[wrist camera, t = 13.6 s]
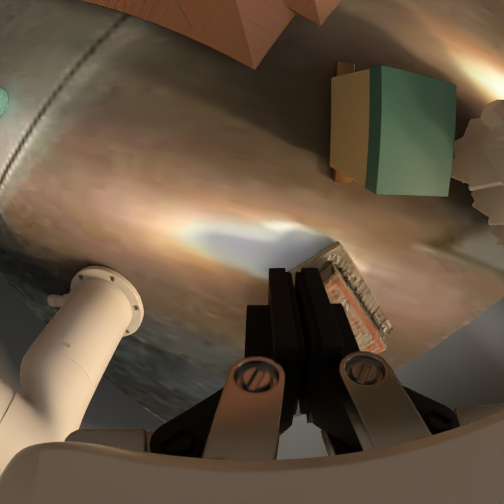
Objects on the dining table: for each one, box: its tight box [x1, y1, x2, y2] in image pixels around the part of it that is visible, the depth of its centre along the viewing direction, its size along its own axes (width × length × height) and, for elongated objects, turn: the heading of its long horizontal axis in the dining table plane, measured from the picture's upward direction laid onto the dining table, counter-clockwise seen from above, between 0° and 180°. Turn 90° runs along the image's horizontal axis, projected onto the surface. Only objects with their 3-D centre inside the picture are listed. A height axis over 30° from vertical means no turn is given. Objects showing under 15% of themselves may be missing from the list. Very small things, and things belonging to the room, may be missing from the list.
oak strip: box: [334, 61, 355, 183], centre depth 30 cm, size 2×14×1 cm, turn 0°
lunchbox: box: [330, 65, 456, 197], centre depth 25 cm, size 11×10×8 cm
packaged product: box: [289, 241, 393, 354], centre depth 39 cm, size 18×5×10 cm
